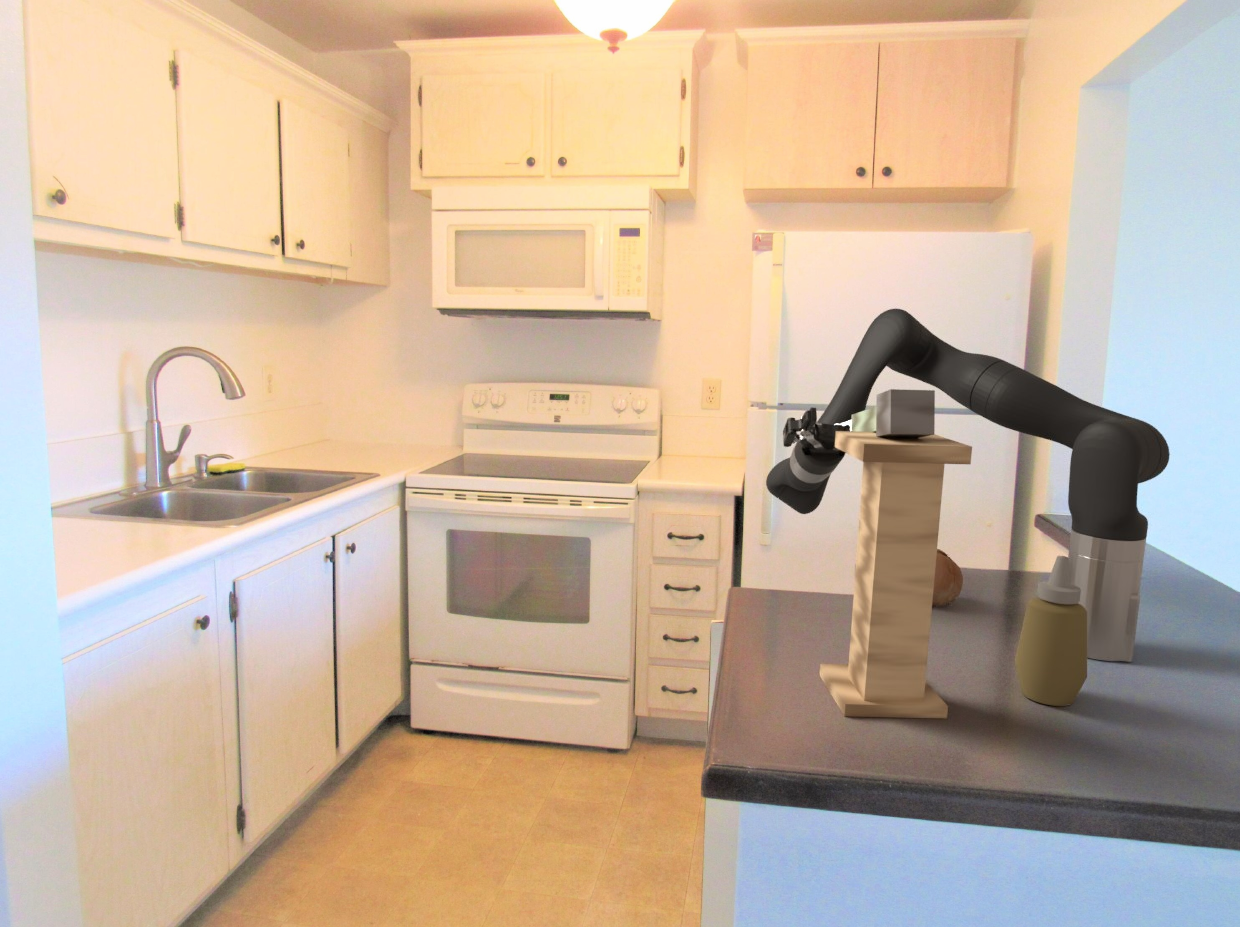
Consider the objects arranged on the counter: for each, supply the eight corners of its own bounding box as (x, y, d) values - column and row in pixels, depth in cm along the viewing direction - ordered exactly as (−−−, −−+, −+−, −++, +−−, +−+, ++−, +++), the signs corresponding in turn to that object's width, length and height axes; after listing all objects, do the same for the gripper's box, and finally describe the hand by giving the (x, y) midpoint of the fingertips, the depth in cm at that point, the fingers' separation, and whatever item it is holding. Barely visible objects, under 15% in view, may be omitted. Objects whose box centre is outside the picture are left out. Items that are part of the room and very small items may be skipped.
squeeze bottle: (1081, 717, 99) (1099, 570, 97) (1006, 700, 104) (1021, 558, 101) (1085, 693, 106) (1102, 555, 103) (1015, 678, 110) (1030, 545, 108)
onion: (929, 613, 145) (941, 558, 147) (969, 616, 136) (981, 557, 138) (885, 597, 142) (897, 540, 144) (923, 599, 133) (936, 538, 136)
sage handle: (843, 444, 114) (844, 407, 114) (880, 445, 114) (881, 408, 114) (890, 433, 95) (890, 389, 95) (934, 434, 95) (934, 390, 95)
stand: (819, 674, 110) (835, 430, 105) (910, 676, 110) (931, 433, 105) (844, 716, 98) (864, 443, 93) (946, 718, 98) (972, 446, 93)
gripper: (772, 431, 140) (793, 389, 125) (858, 434, 140) (889, 392, 125) (774, 474, 137) (796, 436, 122) (861, 476, 137) (894, 439, 122)
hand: (843, 414), depth 123 cm, fingers open, 8 cm apart
